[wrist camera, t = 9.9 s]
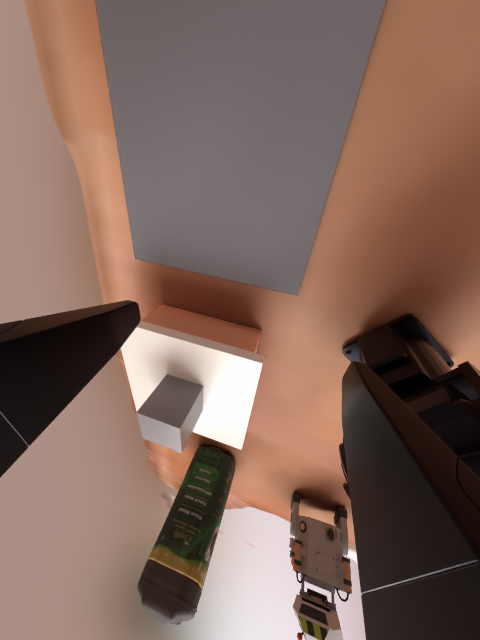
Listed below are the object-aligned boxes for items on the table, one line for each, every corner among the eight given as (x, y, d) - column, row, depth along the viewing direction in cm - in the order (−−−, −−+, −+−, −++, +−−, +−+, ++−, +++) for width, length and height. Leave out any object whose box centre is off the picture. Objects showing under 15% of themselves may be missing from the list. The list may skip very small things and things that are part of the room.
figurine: (287, 511, 43) (279, 638, 31) (294, 486, 37) (287, 631, 25) (335, 527, 41) (345, 671, 29) (350, 504, 35) (371, 671, 23)
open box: (261, 330, 23) (251, 360, 18) (246, 400, 29) (236, 434, 25) (162, 304, 25) (132, 326, 20) (168, 374, 31) (147, 402, 27)
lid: (264, 355, 18) (249, 411, 13) (243, 441, 25) (229, 495, 21) (122, 315, 20) (67, 350, 16) (141, 405, 28) (109, 446, 23)
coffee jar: (195, 438, 39) (120, 599, 23) (237, 452, 37) (185, 635, 22) (199, 464, 44) (139, 610, 28) (235, 477, 42) (192, 639, 27)
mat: (429, -148, 9) (434, -161, 8) (297, 294, 19) (297, 295, 19) (83, -107, 11) (77, -116, 11) (137, 257, 22) (135, 258, 22)
